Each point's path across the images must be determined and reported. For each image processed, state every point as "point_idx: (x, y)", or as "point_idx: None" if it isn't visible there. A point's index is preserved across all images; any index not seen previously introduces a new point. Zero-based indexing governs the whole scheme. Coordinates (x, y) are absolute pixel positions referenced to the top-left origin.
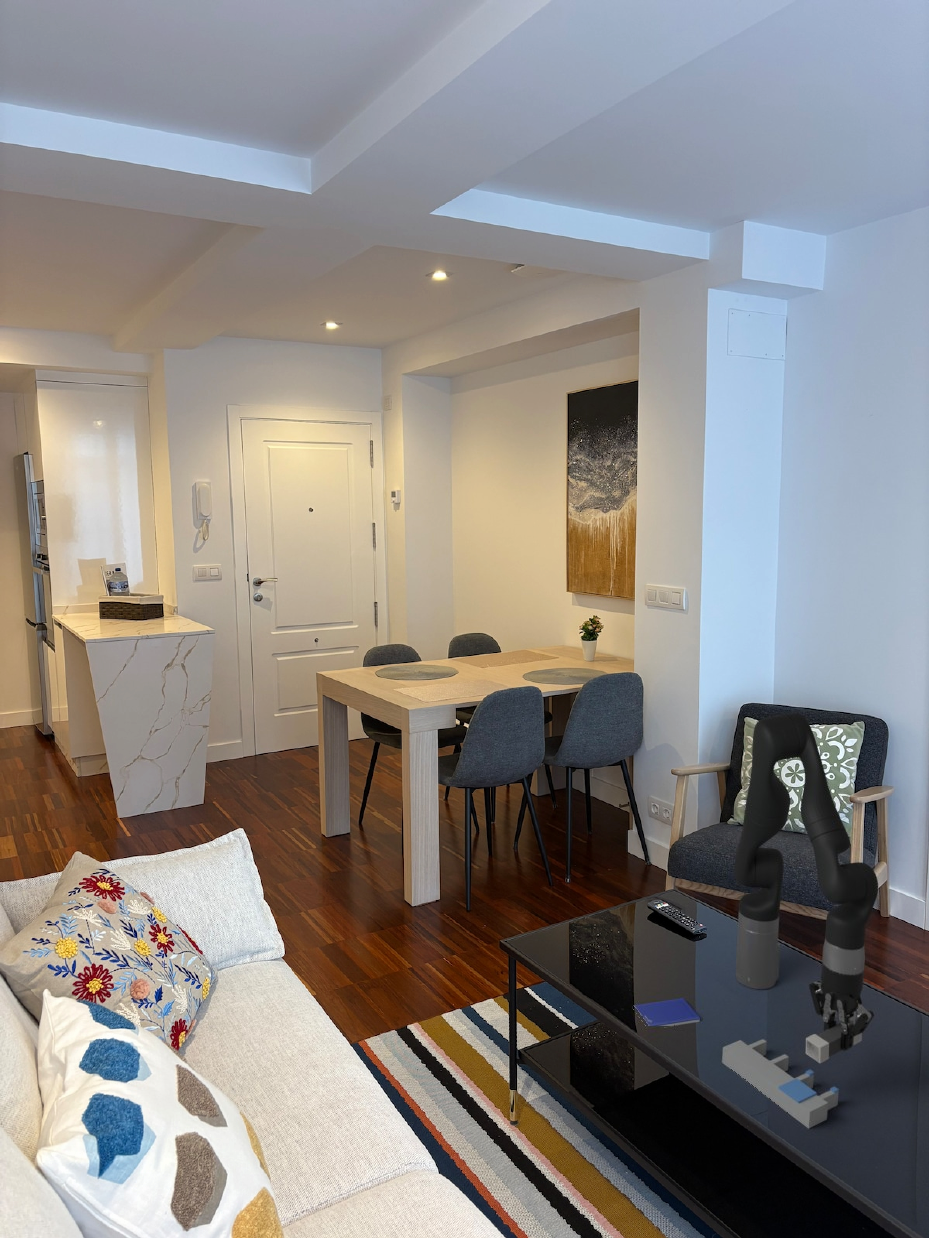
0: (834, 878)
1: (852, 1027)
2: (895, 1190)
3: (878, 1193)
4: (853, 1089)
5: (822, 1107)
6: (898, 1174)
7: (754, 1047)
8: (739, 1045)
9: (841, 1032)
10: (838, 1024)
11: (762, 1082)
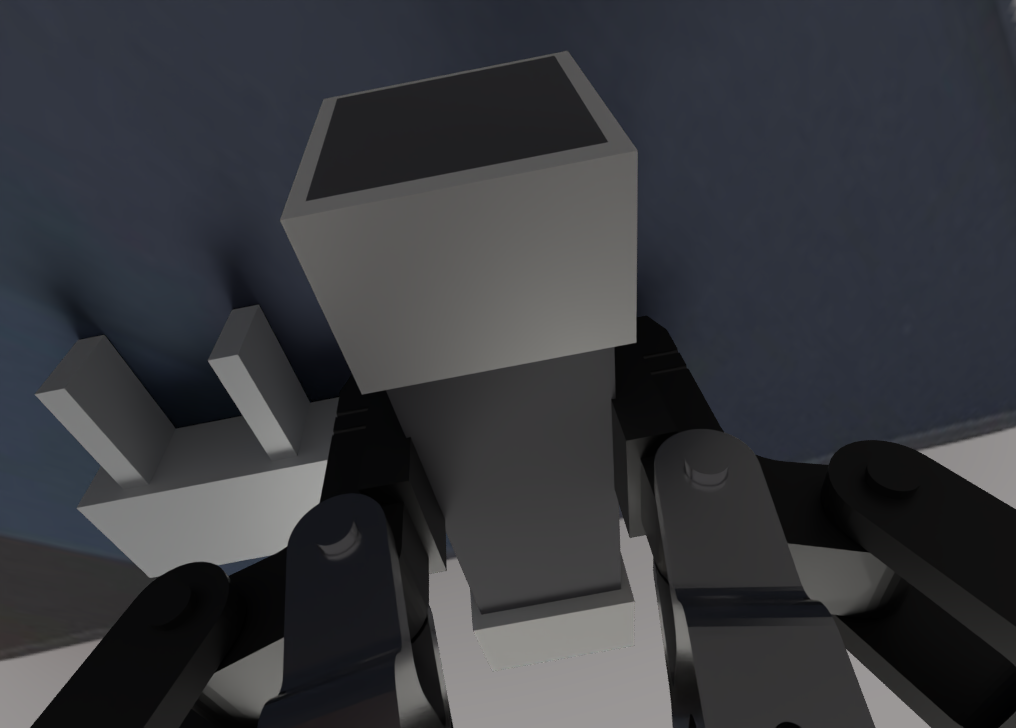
0: None
1: (885, 679)
2: (1006, 338)
3: (961, 392)
4: (514, 44)
5: None
6: (992, 278)
7: (129, 455)
8: (133, 524)
9: (634, 535)
10: (407, 406)
11: None
